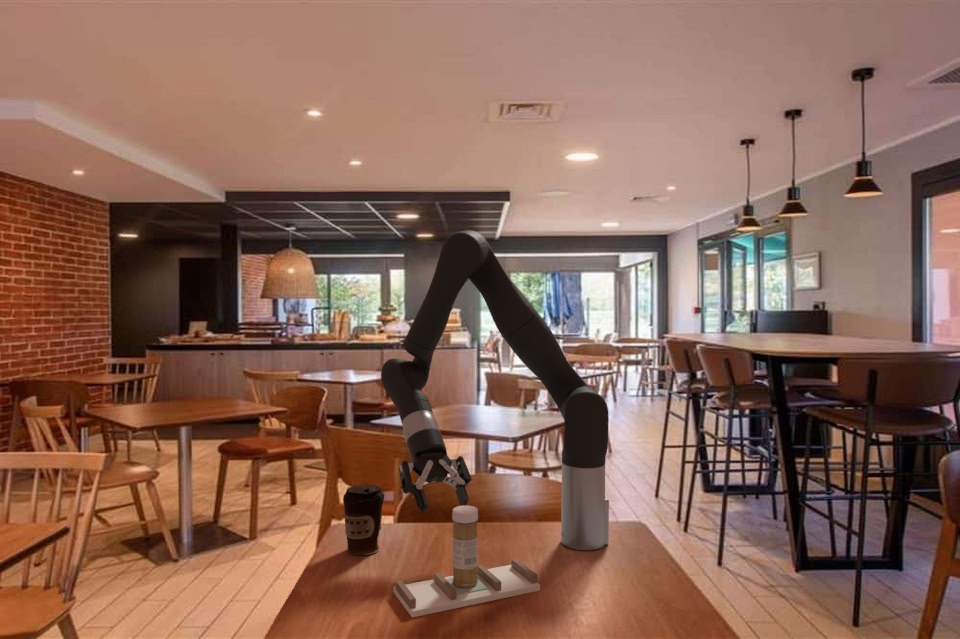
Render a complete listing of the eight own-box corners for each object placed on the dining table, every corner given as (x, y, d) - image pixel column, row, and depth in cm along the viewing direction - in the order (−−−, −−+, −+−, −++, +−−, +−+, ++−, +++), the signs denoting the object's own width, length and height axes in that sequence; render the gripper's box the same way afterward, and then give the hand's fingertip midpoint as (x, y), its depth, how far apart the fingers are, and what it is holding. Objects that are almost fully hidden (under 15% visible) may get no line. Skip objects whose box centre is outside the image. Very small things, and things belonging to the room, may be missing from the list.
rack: (513, 569, 122) (513, 556, 122) (539, 590, 113) (539, 576, 113) (393, 592, 112) (393, 578, 112) (412, 617, 103) (412, 602, 103)
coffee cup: (374, 560, 126) (374, 495, 126) (335, 557, 128) (335, 493, 128) (389, 544, 135) (389, 483, 134) (352, 541, 136) (352, 481, 136)
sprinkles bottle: (474, 576, 116) (475, 503, 116) (480, 587, 112) (480, 511, 111) (449, 579, 115) (450, 505, 115) (454, 590, 111) (455, 513, 110)
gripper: (397, 429, 128) (417, 502, 118) (459, 425, 135) (484, 494, 125) (386, 449, 132) (405, 521, 123) (447, 444, 139) (470, 512, 130)
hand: (445, 507), depth 124 cm, fingers open, 8 cm apart
